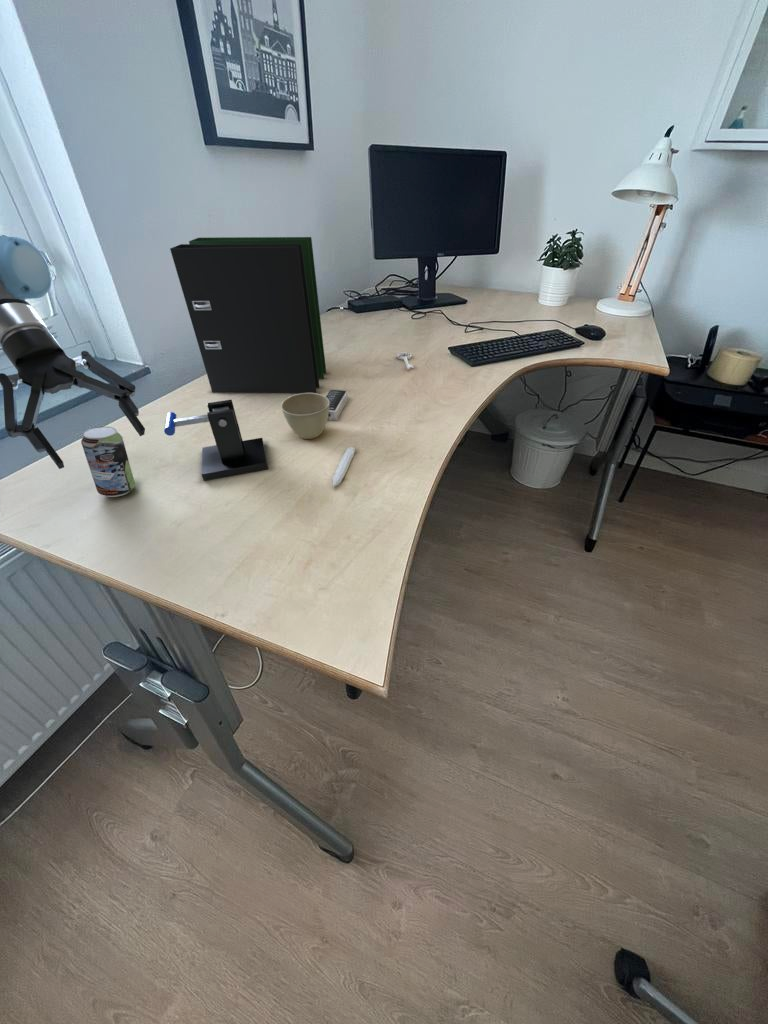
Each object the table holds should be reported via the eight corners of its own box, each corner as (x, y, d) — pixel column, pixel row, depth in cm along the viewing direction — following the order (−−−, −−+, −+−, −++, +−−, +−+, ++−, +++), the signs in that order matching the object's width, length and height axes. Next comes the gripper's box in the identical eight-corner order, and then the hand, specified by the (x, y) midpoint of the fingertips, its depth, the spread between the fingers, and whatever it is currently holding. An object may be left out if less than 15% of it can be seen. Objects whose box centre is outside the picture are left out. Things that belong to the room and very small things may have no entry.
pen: (330, 491, 78) (329, 483, 77) (349, 450, 89) (348, 443, 88) (338, 492, 78) (337, 484, 77) (356, 450, 88) (356, 443, 87)
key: (410, 354, 128) (396, 354, 128) (410, 351, 128) (396, 351, 128) (415, 370, 119) (400, 370, 119) (415, 366, 119) (400, 367, 119)
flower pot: (277, 440, 92) (271, 409, 88) (301, 419, 99) (297, 389, 95) (318, 449, 89) (314, 418, 84) (340, 426, 96) (337, 396, 91)
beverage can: (93, 496, 78) (60, 438, 71) (127, 475, 83) (100, 419, 76) (117, 505, 76) (85, 447, 68) (150, 483, 81) (124, 426, 73)
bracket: (203, 480, 81) (183, 424, 74) (204, 453, 89) (186, 400, 81) (268, 469, 84) (255, 413, 76) (263, 443, 91) (251, 390, 84)
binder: (326, 372, 120) (312, 236, 99) (315, 395, 108) (295, 248, 88) (232, 370, 122) (198, 237, 101) (211, 393, 111) (168, 249, 90)
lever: (166, 438, 76) (162, 426, 75) (169, 422, 81) (164, 410, 79) (232, 427, 79) (228, 415, 77) (231, 413, 83) (227, 401, 82)
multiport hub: (348, 399, 107) (347, 390, 105) (336, 420, 98) (335, 411, 97) (331, 398, 107) (330, 389, 106) (317, 419, 99) (316, 409, 98)
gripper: (103, 333, 82) (169, 428, 84) (-59, 375, 68) (25, 488, 70) (102, 309, 76) (174, 411, 78) (-76, 349, 62) (17, 473, 64)
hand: (104, 448), depth 74 cm, fingers open, 13 cm apart
